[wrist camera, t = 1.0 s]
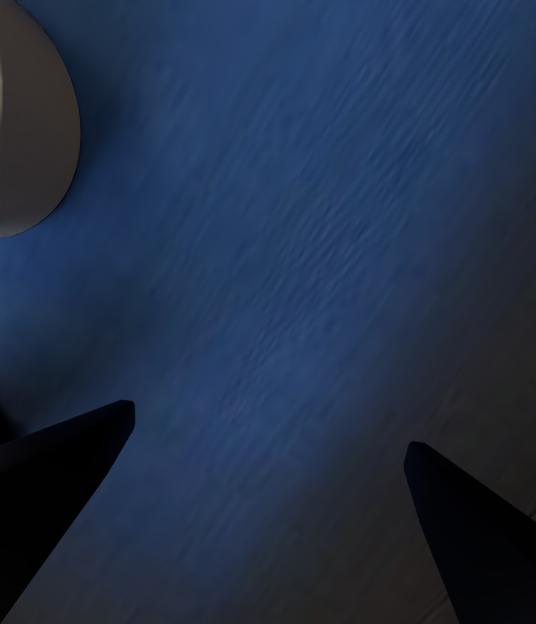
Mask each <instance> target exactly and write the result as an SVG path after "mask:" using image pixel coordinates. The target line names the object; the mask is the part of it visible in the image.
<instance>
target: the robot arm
mask: <svg viewBox="0 0 536 624" xmlns="http://www.w3.org/2000/svg"><path fill="white" fill-rule="evenodd" d="M134 427H135V404H134V402H133V401H129V400H119V401H116V402H113V403H111V404H108V405H105V406H103V407H100V408H98V409H95V410H92V411H90V412H87V413H84V414H82V415H79V416H76V417H74V418H71V419H68V420H66V421H63V422H61V423H58V424H55V425H53V426H50V427H47V428H45V429H42V430H39V431H37V432H34V433H32V434H29V435H26V436H24V437H21V438H18V439H16V440H13V439H12V437H11V435H10V433H9V431H8V429H7V427H6V425H5V424H4V422H3V420H2V418H1V416H0V623H1V622H2V621H3V619H4V618H5V616H6V615H7V614H8V612H9V611H10V609H11V608H12V607H13V605H14V604H15V602H16V601H17V600H18V598H19V597H20V595H21V594H22V593H23V591H24V590H25V589H26V587H27V586H28V584H29V583H30V582H31V580H32V579H33V577H34V576H35V575H36V573H37V572H38V570H39V569H40V568H41V566H42V565H43V563H44V562H45V561H46V559H47V558H48V556H49V555H50V554H51V552H52V551H53V549H54V548H55V547H56V545H57V544H58V542H59V541H60V540H61V538H62V537H63V535H64V534H65V533H66V531H67V530H68V528H69V527H70V526H71V524H72V523H73V521H74V520H75V519H76V517H77V516H78V514H79V513H80V512H81V510H82V509H83V507H84V506H85V505H86V503H87V502H88V501H89V499H90V498H91V496H92V495H93V494H94V492H95V491H96V489H97V488H98V487H99V485H100V484H101V482H102V481H103V479H104V478H105V477H106V475H107V474H108V472H109V470H110V469H111V467H112V465H113V464H114V462H115V460H116V459H117V457H118V455H119V453H120V452H121V450H122V448H123V447H124V445H125V443H126V442H127V440H128V438H129V436H130V435H131V433H132V431H133V429H134ZM404 472H405V475H406V478H407V482H408V485H409V488H410V492H411V495H412V499H413V502H414V505H415V509H416V512H417V515H418V519H419V522H420V525H421V527H422V530H423V533H424V535H425V538H426V540H427V543H428V545H429V548H430V550H431V553H432V555H433V558H434V560H435V563H436V565H437V568H438V570H439V573H440V575H441V578H442V580H443V583H444V585H445V588H446V590H447V593H448V595H449V598H450V600H451V603H452V606H453V608H454V611H455V613H456V616H457V618H458V621H459V623H460V624H536V522H535V521H534V520H532V519H531V518H530V517H528V516H527V515H525V514H524V513H523V512H521V511H520V510H518V509H517V508H515V507H514V506H513V505H511V504H510V503H508V502H507V501H506V500H504V499H503V498H501V497H500V496H499V495H497V494H496V493H494V492H493V491H492V490H490V489H489V488H487V487H486V486H485V485H483V484H482V483H480V482H479V481H478V480H476V479H475V478H473V477H472V476H471V475H469V474H468V473H466V472H465V471H464V470H462V469H461V468H459V467H458V466H457V465H455V464H454V463H452V462H451V461H450V460H448V459H447V458H445V457H444V456H443V455H441V454H440V453H438V452H437V451H436V450H434V449H433V448H431V447H430V446H429V445H427V444H426V443H422V442H415V441H412V442H410V443H409V445H408V449H407V453H406V456H405V460H404Z"/></svg>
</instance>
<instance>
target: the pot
mask: <svg viewBox="0 0 536 624" xmlns="http://www.w3.org/2000/svg"><path fill="white" fill-rule="evenodd" d="M80 139H81V129H80V115H79V109H78V104H77V98H76V95H75V92H74V88H73V85H72V81H71V79H70V76H69V74H68V72H67V69H66V67H65V64H64V62H63V60H62V58H61V56H60V55H59V53H58V51H57V49H56V47H55V46H54V44H53V42H52V41H51V40H50V38H49V37H48V35H47V34H46V32H45V31H44V29H43V28H42V27H41V26H40V25H39V23H38V22H37V21H36V20H35V19H34V18H33V16H32V15H31V14H30V13H29V12H28V11H27V10H26V9H25V8H24V7H23V6H22V5H21V4H20V3H19V1H18V0H0V239H1V238H6V237H11V236H14V235H16V234H19V233H22V232H24V231H26V230H28V229H30V228H32V227H33V226H35V225H37V224H38V223H39V222H41V221H42V220H43V219H45V218H46V217H47V216H48V215H49V214H50V213H51V212H52V211H53V210H54V209H55V208H56V207H57V206H58V204H59V203H60V201H61V200H62V198H63V197H64V196H65V194H66V192H67V190H68V188H69V186H70V184H71V182H72V179H73V176H74V173H75V170H76V167H77V163H78V158H79V152H80Z"/></svg>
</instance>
